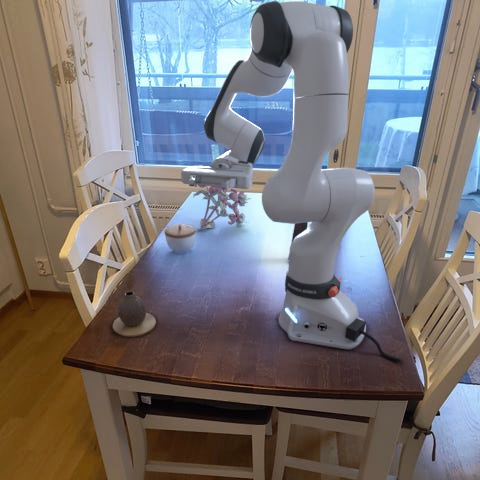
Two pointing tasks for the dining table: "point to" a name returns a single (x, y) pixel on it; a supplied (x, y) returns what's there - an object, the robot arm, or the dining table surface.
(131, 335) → the cork trivet
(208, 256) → the dining table surface
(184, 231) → the trinket box
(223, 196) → the flower
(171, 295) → the dining table surface
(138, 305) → the vase
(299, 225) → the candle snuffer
